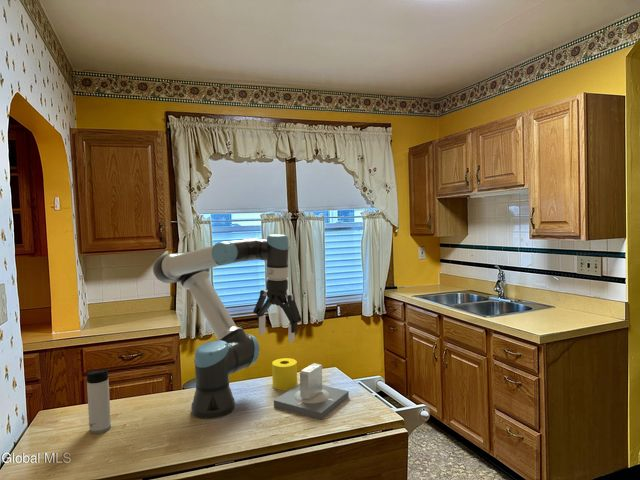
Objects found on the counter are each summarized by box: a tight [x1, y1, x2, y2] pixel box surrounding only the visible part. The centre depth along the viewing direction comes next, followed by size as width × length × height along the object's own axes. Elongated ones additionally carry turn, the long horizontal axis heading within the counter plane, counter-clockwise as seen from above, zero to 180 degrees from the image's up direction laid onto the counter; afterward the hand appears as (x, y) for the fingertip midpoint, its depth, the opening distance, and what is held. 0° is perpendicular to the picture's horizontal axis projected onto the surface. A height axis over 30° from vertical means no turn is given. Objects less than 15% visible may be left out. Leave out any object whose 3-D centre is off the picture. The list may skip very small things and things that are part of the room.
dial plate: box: [273, 383, 350, 421], centre depth 159 cm, size 20×20×3 cm
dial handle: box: [299, 362, 323, 400], centre depth 159 cm, size 9×4×10 cm, turn 149°
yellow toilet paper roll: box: [271, 357, 298, 391], centre depth 175 cm, size 10×10×9 cm
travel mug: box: [86, 368, 112, 435], centre depth 141 cm, size 6×7×20 cm
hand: (276, 337), depth 154 cm, fingers open, 13 cm apart
